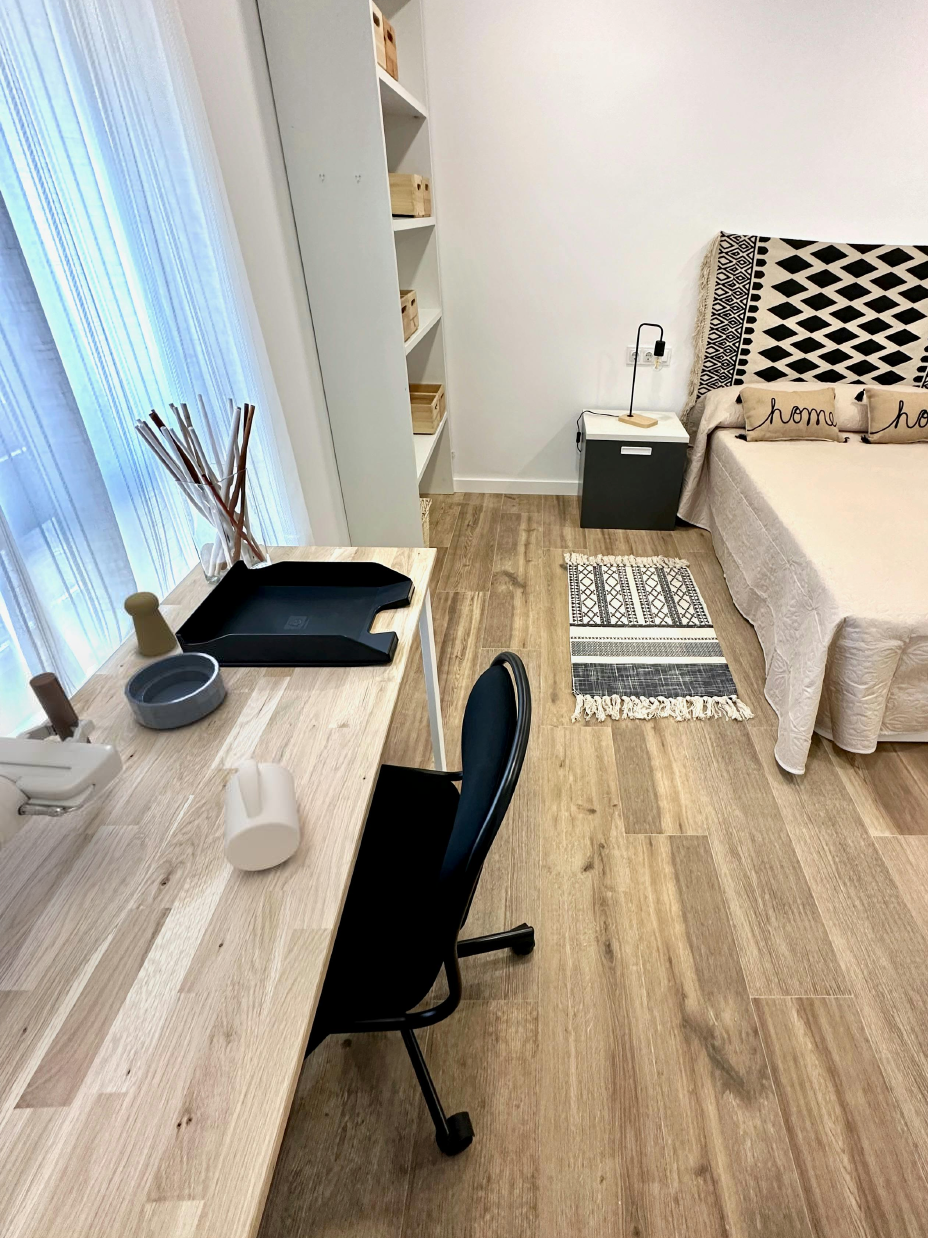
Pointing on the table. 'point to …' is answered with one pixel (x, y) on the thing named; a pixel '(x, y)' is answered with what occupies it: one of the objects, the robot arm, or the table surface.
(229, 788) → the mug
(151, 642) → the pepper mill
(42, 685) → the brown cylindrical rod
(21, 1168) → the table surface
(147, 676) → the bowl
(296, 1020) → the table surface
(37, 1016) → the table surface
